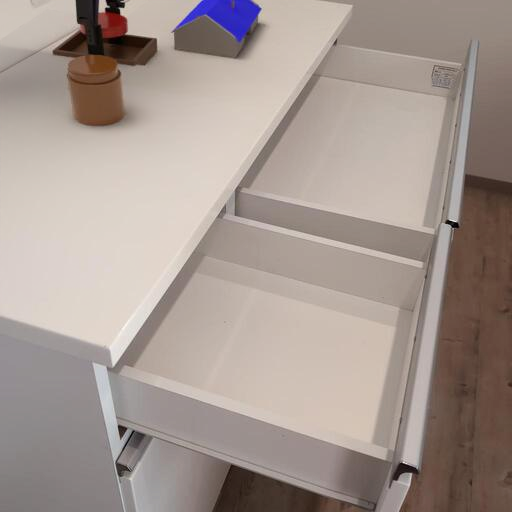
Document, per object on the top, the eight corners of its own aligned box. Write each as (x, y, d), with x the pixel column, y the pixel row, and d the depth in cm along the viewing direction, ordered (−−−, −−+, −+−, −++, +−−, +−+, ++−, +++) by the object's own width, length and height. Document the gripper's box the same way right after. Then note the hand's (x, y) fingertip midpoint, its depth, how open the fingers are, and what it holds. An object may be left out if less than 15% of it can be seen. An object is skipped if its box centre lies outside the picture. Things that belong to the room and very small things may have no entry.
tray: (54, 64, 99) (52, 50, 98) (83, 40, 109) (81, 28, 107) (135, 75, 98) (134, 62, 96) (157, 51, 107) (156, 38, 105)
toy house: (239, 58, 107) (240, 19, 102) (171, 48, 108) (169, 10, 103) (261, 23, 123) (263, -12, 118) (201, 15, 125) (201, -20, 120)
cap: (134, 25, 102) (134, 16, 101) (117, 40, 96) (116, 30, 95) (92, 19, 103) (91, 9, 102) (72, 34, 97) (71, 24, 96)
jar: (66, 132, 81) (55, 70, 75) (87, 110, 87) (78, 50, 81) (115, 140, 80) (107, 78, 74) (133, 117, 86) (127, 57, 80)
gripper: (85, -74, 79) (103, 76, 94) (136, -96, 95) (144, 35, 110) (37, -80, 80) (62, 70, 95) (95, -101, 96) (109, 31, 111)
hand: (106, 52), depth 102 cm, fingers closed on cap, 8 cm apart
